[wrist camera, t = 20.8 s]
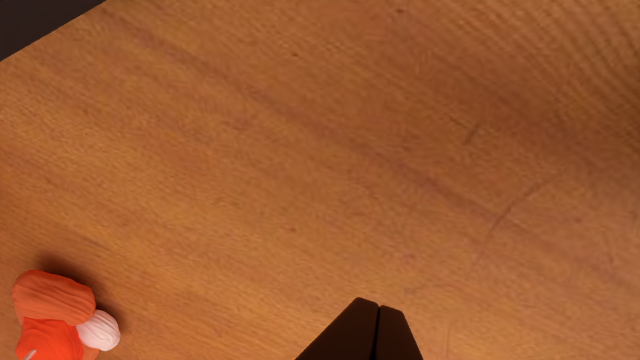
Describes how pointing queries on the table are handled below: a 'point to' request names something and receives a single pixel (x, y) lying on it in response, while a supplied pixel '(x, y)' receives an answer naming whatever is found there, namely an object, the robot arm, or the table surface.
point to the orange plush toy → (60, 319)
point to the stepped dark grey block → (35, 20)
